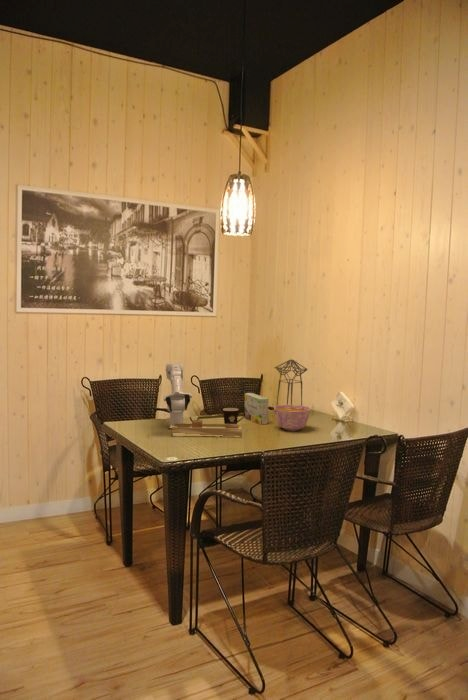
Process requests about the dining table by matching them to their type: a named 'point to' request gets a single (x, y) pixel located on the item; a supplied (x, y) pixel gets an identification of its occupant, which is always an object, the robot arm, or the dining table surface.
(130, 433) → the dining table surface
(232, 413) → the coffee mug
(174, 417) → the robot arm
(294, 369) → the geometric lantern
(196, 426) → the walnut block
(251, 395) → the snack box
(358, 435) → the dining table surface
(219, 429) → the trap trough
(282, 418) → the bowl of food
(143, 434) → the dining table surface
